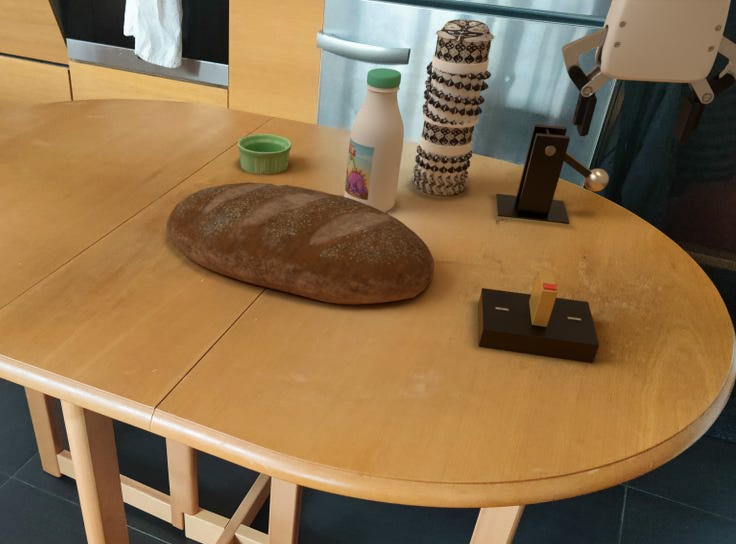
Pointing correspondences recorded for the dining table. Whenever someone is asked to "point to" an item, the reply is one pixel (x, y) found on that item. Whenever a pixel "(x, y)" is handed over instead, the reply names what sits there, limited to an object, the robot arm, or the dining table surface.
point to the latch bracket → (539, 179)
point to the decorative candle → (452, 106)
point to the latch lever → (586, 172)
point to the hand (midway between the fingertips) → (629, 135)
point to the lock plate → (536, 327)
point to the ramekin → (264, 153)
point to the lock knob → (543, 297)
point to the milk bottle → (376, 143)
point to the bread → (302, 243)
